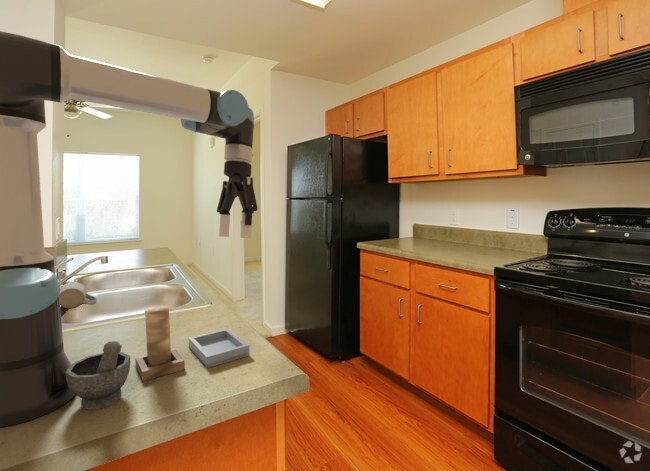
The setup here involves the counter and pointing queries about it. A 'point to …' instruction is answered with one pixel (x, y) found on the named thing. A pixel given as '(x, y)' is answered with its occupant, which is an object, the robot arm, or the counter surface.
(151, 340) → the dowel
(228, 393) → the counter surface
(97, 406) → the mortar and pestle
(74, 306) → the ceramic mug
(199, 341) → the tray
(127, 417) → the counter surface
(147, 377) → the socket block
